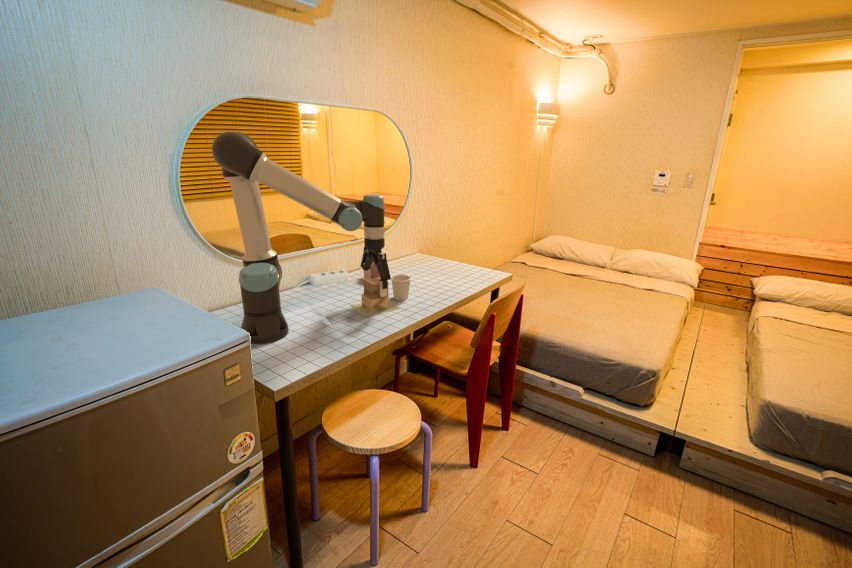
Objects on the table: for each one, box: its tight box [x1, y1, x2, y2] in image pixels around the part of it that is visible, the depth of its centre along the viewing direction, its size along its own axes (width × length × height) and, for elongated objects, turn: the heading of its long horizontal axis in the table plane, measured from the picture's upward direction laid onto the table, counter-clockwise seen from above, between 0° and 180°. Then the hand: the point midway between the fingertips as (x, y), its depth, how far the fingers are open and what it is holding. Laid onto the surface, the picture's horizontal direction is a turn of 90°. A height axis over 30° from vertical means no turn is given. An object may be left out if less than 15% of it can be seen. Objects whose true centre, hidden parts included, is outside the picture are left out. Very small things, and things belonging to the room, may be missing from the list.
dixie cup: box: [390, 274, 412, 301], centre depth 172 cm, size 8×8×10 cm
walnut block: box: [363, 277, 389, 299], centre depth 160 cm, size 7×7×6 cm
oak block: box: [361, 293, 390, 312], centre depth 162 cm, size 8×8×5 cm
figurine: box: [368, 262, 380, 278], centre depth 198 cm, size 9×11×12 cm
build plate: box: [349, 300, 402, 318], centre depth 163 cm, size 16×13×1 cm
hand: (375, 291), depth 160 cm, fingers open, 13 cm apart
